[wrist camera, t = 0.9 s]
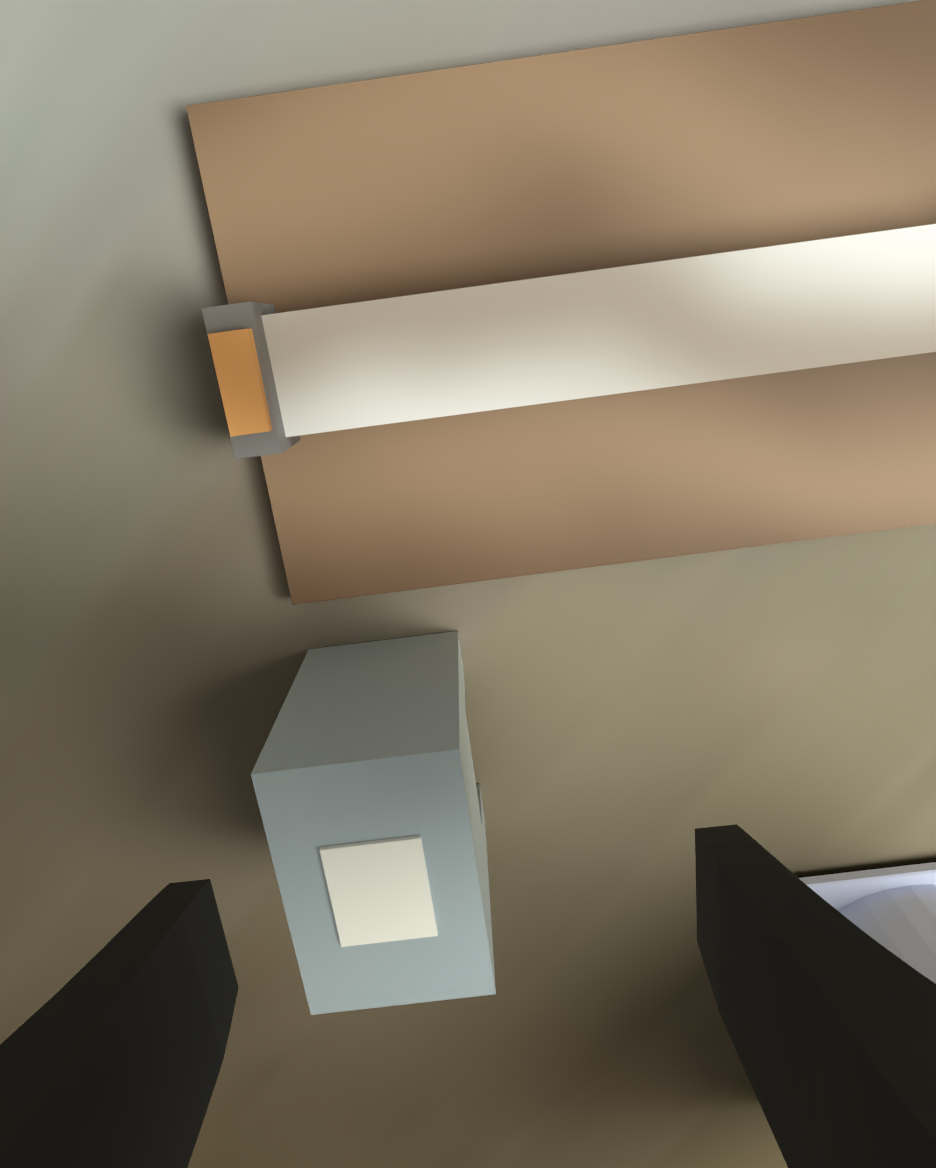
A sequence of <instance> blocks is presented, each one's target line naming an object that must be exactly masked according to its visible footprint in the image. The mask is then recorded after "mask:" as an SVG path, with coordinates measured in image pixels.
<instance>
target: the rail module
mask: <svg viewBox="0 0 936 1168" xmlns="http://www.w3.org/2000/svg"><path fill="white" fill-rule="evenodd" d="M251 777H252V781H253V785H254V789H255V793H256V797H257V801H258V805H259V809H260V813H261V817H262V821H263V825H264V829H265V833H266V837H267V841H268V845H269V849H270V853H271V857H272V861H273V865H274V869H275V873H276V877H277V881H278V885H279V889H280V893H281V897H282V901H283V905H284V909H285V913H286V917H287V921H288V925H289V929H290V933H291V937H292V941H293V945H294V949H295V953H296V957H297V961H298V965H299V969H300V973H301V977H302V981H303V985H304V989H305V993H306V997H307V1001H308V1005H309V1009H310V1013H311V1015H315V1014H324V1013H333V1012H342V1011H351V1010H360V1009H369V1008H378V1007H386V1006H395V1005H404V1004H413V1003H422V1002H431V1001H440V1000H449V999H457V998H466V997H475V996H484V995H493V994H496V989H495V973H494V957H493V941H492V924H491V908H490V892H489V876H488V860H487V843H486V827H485V817H484V810H483V803H482V796H481V789H480V784H476V781H475V774H474V767H473V760H472V753H471V746H470V739H469V732H468V725H467V718H466V711H465V680H464V669H463V662H462V655H461V648H460V641H459V634H458V631H452V632H444V633H436V634H428V635H420V636H412V637H404V638H396V639H388V640H380V641H372V642H364V643H356V644H348V645H339V646H331V647H323V648H315V649H308V652H307V654H306V656H305V658H304V660H303V662H302V665H301V667H300V669H299V671H298V673H297V675H296V678H295V680H294V682H293V684H292V686H291V688H290V691H289V693H288V695H287V697H286V699H285V701H284V704H283V706H282V708H281V710H280V712H279V714H278V716H277V719H276V721H275V723H274V725H273V727H272V729H271V732H270V734H269V736H268V738H267V740H266V742H265V745H264V747H263V749H262V751H261V753H260V755H259V758H258V760H257V762H256V764H255V766H254V768H253V771H252V773H251Z"/></svg>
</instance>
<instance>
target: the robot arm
mask: <svg viewBox="0 0 936 1168" xmlns="http://www.w3.org/2000/svg"><path fill="white" fill-rule="evenodd" d="M695 851H696V901H697V941H698V945H699V948H700V951H701V954H702V958H703V961H704V964H705V967H706V971H707V974H708V977H709V980H710V983H711V987H712V990H713V993H714V996H715V999H716V1002H717V1005H718V1008H719V1011H720V1013H721V1016H722V1018H723V1020H724V1023H725V1025H726V1027H727V1030H728V1032H729V1034H730V1037H731V1039H732V1041H733V1044H734V1046H735V1048H736V1050H737V1053H738V1055H739V1057H740V1060H741V1062H742V1064H743V1066H744V1069H745V1071H746V1073H747V1075H748V1078H749V1080H750V1082H751V1084H752V1087H753V1089H754V1091H755V1094H756V1096H757V1098H758V1100H759V1103H760V1105H761V1107H762V1109H763V1112H764V1114H765V1116H766V1118H767V1121H768V1123H769V1125H770V1127H771V1130H772V1132H773V1134H774V1136H775V1139H776V1141H777V1143H778V1145H779V1148H780V1150H781V1152H782V1154H783V1157H784V1159H785V1161H786V1164H787V1166H788V1168H936V862H932V863H924V864H915V865H906V866H898V867H889V868H880V869H872V870H863V871H855V872H846V873H837V874H829V875H820V876H811V877H803V878H798V877H797V876H796V875H794V874H793V873H792V872H791V871H790V870H789V869H788V868H786V867H785V866H784V865H783V864H782V863H781V862H779V861H778V860H777V859H776V858H775V857H774V856H773V855H771V854H770V853H769V852H768V851H767V850H766V849H765V848H764V847H762V846H761V845H760V844H759V843H758V842H757V841H756V840H754V839H753V838H752V837H751V836H750V835H749V834H747V833H746V832H745V831H744V830H743V829H742V828H740V827H739V826H738V825H728V826H718V827H708V828H699V829H695ZM237 991H238V984H237V980H236V976H235V972H234V969H233V965H232V961H231V957H230V953H229V950H228V946H227V942H226V938H225V935H224V931H223V927H222V923H221V919H220V916H219V912H218V908H217V904H216V900H215V897H214V893H213V889H212V885H211V882H210V879H207V880H197V881H187V882H178V883H169V884H168V885H167V886H166V887H165V888H164V889H163V890H162V891H161V892H160V893H158V894H157V895H156V896H155V897H154V898H153V899H152V900H151V901H150V902H149V903H148V904H147V905H146V906H145V907H144V908H143V909H142V910H141V911H140V912H139V913H138V914H137V915H136V916H135V917H134V918H133V919H132V920H131V921H130V922H129V923H128V924H127V925H126V926H125V927H124V928H123V929H122V930H121V931H120V932H119V933H118V934H117V935H116V936H115V937H114V938H113V939H112V940H111V941H110V942H109V943H108V944H107V945H106V946H105V947H104V948H103V949H102V950H101V951H100V952H99V953H98V954H97V955H96V956H95V957H94V958H92V959H91V960H90V961H89V962H88V963H87V964H86V965H85V966H84V967H83V968H82V969H81V970H80V971H79V972H78V973H77V974H76V975H75V976H74V977H73V978H72V979H71V980H70V981H69V982H68V983H67V984H66V985H65V986H64V987H63V988H62V989H61V990H60V991H59V992H58V993H57V994H55V995H54V996H53V997H52V998H51V999H50V1000H49V1001H48V1002H47V1003H46V1004H45V1005H44V1006H42V1007H41V1008H40V1009H39V1010H38V1011H37V1012H36V1013H35V1014H34V1015H33V1016H31V1017H30V1018H29V1019H28V1020H27V1021H26V1022H25V1023H24V1024H23V1025H22V1026H20V1027H19V1028H18V1029H17V1030H16V1031H15V1032H14V1033H13V1034H12V1035H11V1036H9V1037H8V1038H7V1039H6V1040H5V1041H4V1042H3V1043H2V1044H1V1045H0V1168H187V1167H188V1164H189V1161H190V1158H191V1155H192V1152H193V1149H194V1146H195V1143H196V1140H197V1137H198V1134H199V1131H200V1128H201V1125H202V1123H203V1120H204V1117H205V1114H206V1110H207V1107H208V1104H209V1101H210V1098H211V1095H212V1092H213V1089H214V1086H215V1083H216V1080H217V1077H218V1074H219V1071H220V1068H221V1065H222V1062H223V1058H224V1053H225V1049H226V1044H227V1040H228V1036H229V1031H230V1027H231V1022H232V1017H233V1011H234V1006H235V1001H236V996H237Z"/></svg>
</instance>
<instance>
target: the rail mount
mask: <svg viewBox="0 0 936 1168" xmlns="http://www.w3.org/2000/svg"><path fill="white" fill-rule="evenodd" d="M186 108H187V113H188V118H189V122H190V127H191V132H192V137H193V141H194V146H195V151H196V155H197V160H198V165H199V169H200V174H201V179H202V183H203V188H204V193H205V197H206V202H207V207H208V211H209V216H210V221H211V226H212V230H213V235H214V240H215V244H216V249H217V254H218V258H219V263H220V268H221V272H222V277H223V282H224V286H225V291H226V296H227V300H228V305H221V306H213V307H206V308H201V309H202V314H203V318H204V323H205V327H206V332H207V336H208V341H209V345H210V350H211V354H212V358H213V363H214V367H215V372H216V376H217V381H218V385H219V390H220V394H221V399H222V403H223V407H224V412H225V416H226V421H227V425H228V430H229V434H230V439H231V443H232V448H233V452H234V457H235V459H241V458H248V457H256V456H261V460H262V464H263V469H264V474H265V478H266V483H267V488H268V493H269V497H270V502H271V507H272V511H273V516H274V521H275V525H276V530H277V535H278V539H279V544H280V549H281V553H282V558H283V563H284V567H285V572H286V577H287V582H288V586H289V591H290V596H291V600H292V605H294V604H302V603H310V602H318V601H326V600H334V599H342V598H350V597H358V596H366V595H374V594H381V593H389V592H397V591H405V590H413V589H421V588H429V587H437V586H445V585H453V584H461V583H469V582H476V581H484V580H492V579H500V578H508V577H516V576H524V575H532V574H540V573H548V572H556V571H563V570H571V569H579V568H587V567H595V566H603V565H611V564H619V563H627V562H635V561H643V560H651V559H658V558H666V557H674V556H682V555H690V554H698V553H706V552H714V551H722V550H730V549H738V548H745V547H753V546H761V545H769V544H777V543H785V542H793V541H801V540H809V539H817V538H825V537H832V536H840V535H848V534H856V533H864V532H872V531H880V530H888V529H896V528H904V527H912V526H920V525H927V524H935V523H936V0H924V1H917V2H910V3H903V4H896V5H889V6H882V7H875V8H868V9H861V10H854V11H847V12H840V13H833V14H826V15H819V16H812V17H805V18H798V19H791V20H784V21H777V22H770V23H763V24H756V25H749V26H742V27H735V28H728V29H721V30H714V31H707V32H700V33H693V34H686V35H679V36H672V37H665V38H658V39H651V40H644V41H637V42H630V43H623V44H616V45H609V46H602V47H595V48H588V49H581V50H574V51H567V52H560V53H553V54H546V55H539V56H532V57H525V58H518V59H511V60H504V61H497V62H490V63H483V64H476V65H469V66H462V67H455V68H448V69H441V70H434V71H427V72H420V73H413V74H406V75H399V76H392V77H385V78H378V79H371V80H364V81H357V82H350V83H343V84H336V85H329V86H322V87H315V88H308V89H301V90H294V91H287V92H280V93H273V94H266V95H259V96H252V97H245V98H238V99H231V100H224V101H217V102H210V103H203V104H196V105H189V106H186Z"/></svg>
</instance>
